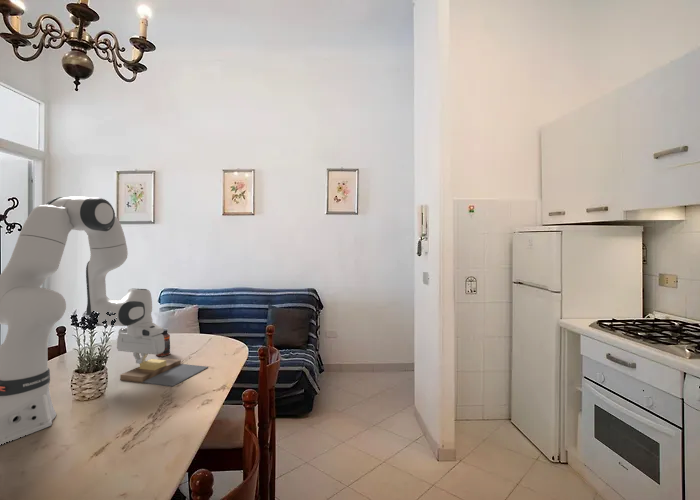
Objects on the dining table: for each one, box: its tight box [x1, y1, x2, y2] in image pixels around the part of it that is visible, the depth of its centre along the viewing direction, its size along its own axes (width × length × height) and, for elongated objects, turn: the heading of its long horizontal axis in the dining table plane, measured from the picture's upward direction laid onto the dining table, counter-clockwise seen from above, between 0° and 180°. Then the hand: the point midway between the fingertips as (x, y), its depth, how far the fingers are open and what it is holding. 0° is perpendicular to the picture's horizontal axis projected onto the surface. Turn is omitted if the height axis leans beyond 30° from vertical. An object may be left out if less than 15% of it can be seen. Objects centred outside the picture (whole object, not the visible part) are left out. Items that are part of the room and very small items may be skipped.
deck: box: [119, 357, 182, 384], centre depth 148 cm, size 20×10×2 cm, turn 164°
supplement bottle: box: [155, 328, 171, 357], centre depth 169 cm, size 6×6×11 cm
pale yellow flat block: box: [139, 358, 166, 370], centre depth 148 cm, size 6×7×2 cm
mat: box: [142, 363, 209, 387], centre depth 145 cm, size 20×13×1 cm, turn 164°
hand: (140, 363), depth 149 cm, fingers closed
